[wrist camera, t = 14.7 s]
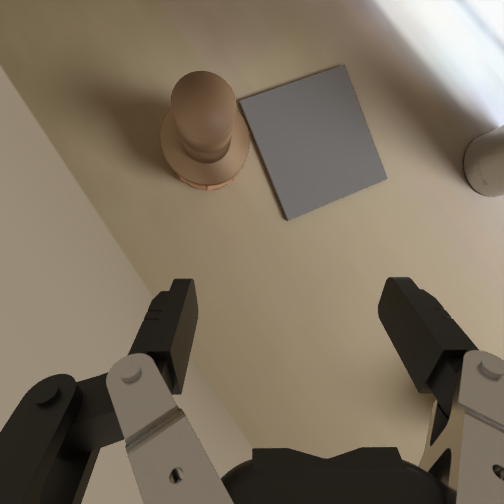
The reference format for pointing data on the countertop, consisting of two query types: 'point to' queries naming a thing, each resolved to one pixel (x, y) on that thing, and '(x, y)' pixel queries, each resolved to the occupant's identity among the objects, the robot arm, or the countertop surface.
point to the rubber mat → (313, 141)
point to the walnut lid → (204, 130)
